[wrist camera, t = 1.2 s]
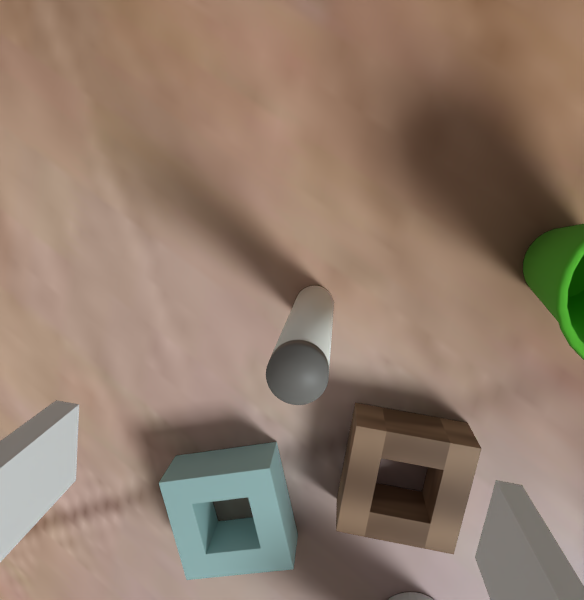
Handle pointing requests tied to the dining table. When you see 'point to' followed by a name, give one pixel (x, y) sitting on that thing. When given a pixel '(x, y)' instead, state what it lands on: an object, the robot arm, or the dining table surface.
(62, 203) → the dining table surface
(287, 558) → the teal square ring
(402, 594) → the coffee cup
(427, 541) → the brown square wooden ring
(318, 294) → the pale grey rod
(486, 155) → the dining table surface
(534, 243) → the cup
